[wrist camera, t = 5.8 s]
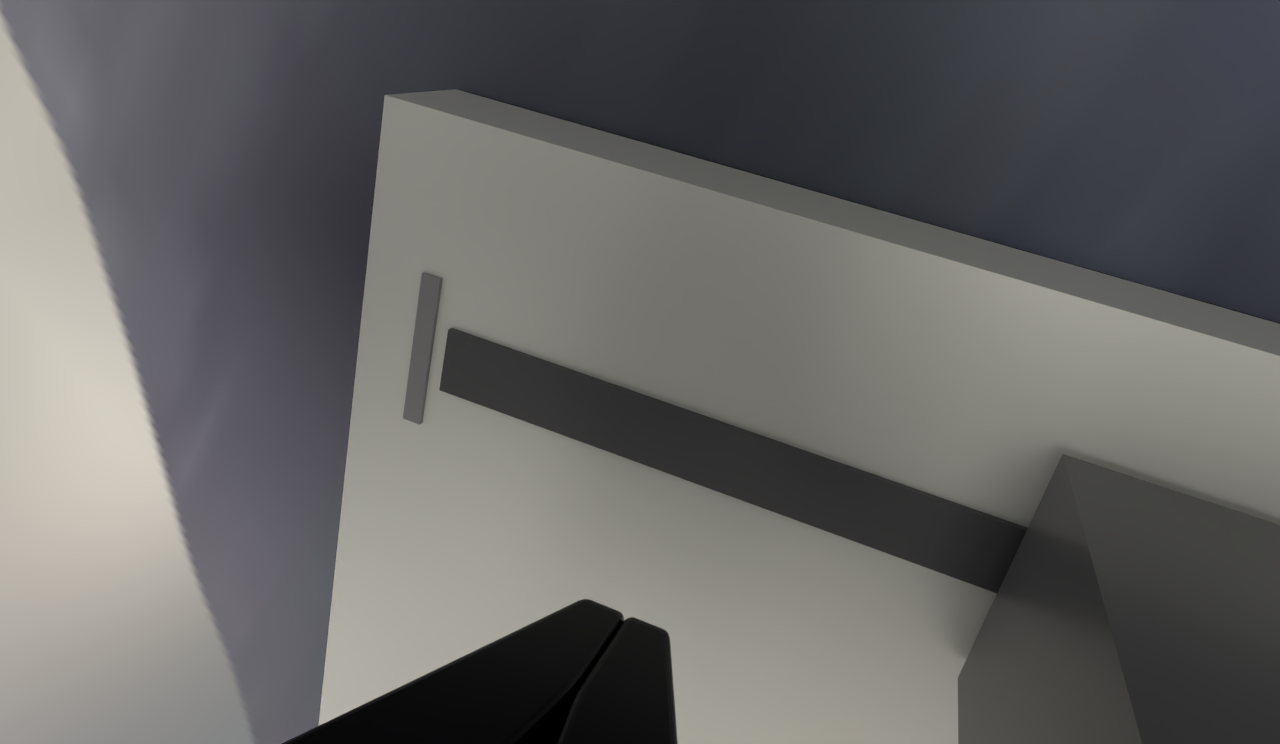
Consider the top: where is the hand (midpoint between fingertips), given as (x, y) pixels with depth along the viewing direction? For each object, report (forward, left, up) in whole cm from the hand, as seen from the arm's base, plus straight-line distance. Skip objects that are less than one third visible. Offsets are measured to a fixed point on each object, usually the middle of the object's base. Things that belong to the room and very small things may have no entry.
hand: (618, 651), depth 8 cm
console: (-5, -1, -7) cm, 8 cm away
